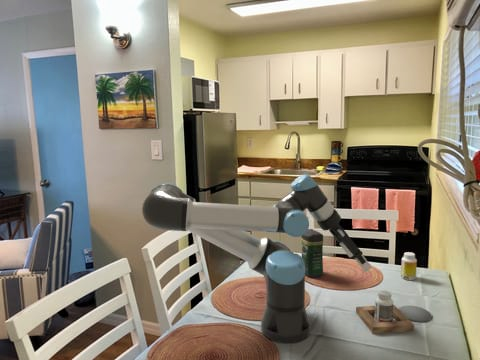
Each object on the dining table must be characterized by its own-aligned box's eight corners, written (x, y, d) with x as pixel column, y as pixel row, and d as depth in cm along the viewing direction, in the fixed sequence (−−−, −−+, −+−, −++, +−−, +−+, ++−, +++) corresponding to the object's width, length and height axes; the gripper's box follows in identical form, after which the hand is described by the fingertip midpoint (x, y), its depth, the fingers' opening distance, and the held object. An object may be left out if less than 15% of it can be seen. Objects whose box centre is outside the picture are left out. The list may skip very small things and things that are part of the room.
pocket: (372, 333, 116) (372, 327, 116) (355, 312, 129) (356, 306, 129) (413, 330, 117) (414, 324, 117) (393, 310, 130) (393, 304, 130)
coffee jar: (326, 276, 159) (326, 232, 156) (308, 278, 157) (309, 234, 154) (314, 267, 168) (315, 226, 165) (298, 270, 166) (298, 228, 163)
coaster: (407, 323, 122) (407, 321, 122) (392, 307, 132) (392, 306, 132) (437, 320, 123) (437, 319, 123) (420, 306, 132) (420, 304, 132)
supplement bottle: (418, 279, 154) (420, 255, 152) (406, 281, 153) (407, 256, 151) (409, 274, 159) (411, 250, 158) (397, 276, 158) (399, 252, 156)
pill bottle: (396, 322, 122) (397, 293, 121) (385, 327, 119) (386, 297, 118) (381, 315, 127) (382, 287, 125) (371, 320, 124) (372, 291, 122)
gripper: (347, 217, 117) (385, 269, 120) (323, 200, 141) (354, 244, 145) (328, 232, 117) (366, 283, 121) (306, 212, 141) (338, 256, 145)
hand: (360, 262), depth 133 cm, fingers open, 13 cm apart
